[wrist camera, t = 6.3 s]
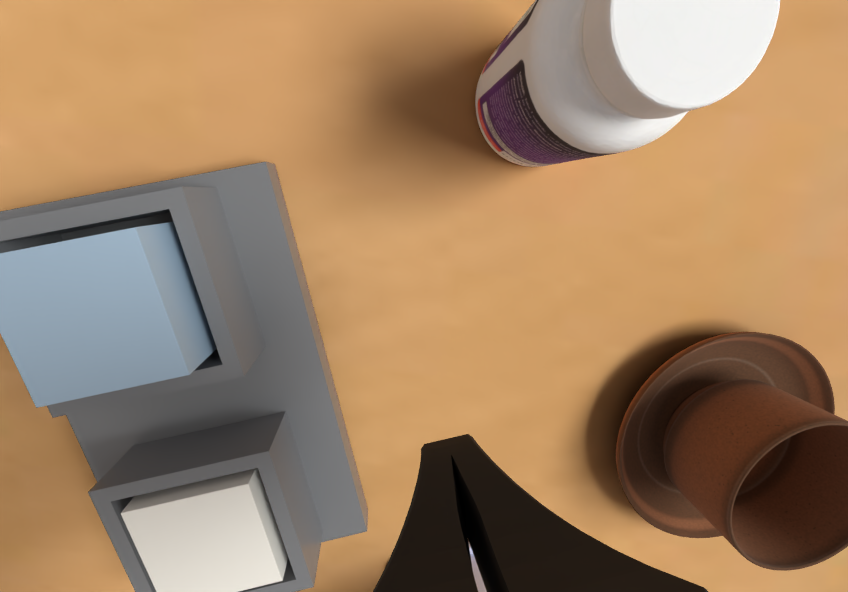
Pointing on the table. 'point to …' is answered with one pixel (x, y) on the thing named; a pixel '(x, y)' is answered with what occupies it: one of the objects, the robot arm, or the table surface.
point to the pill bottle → (613, 73)
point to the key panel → (218, 368)
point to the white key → (208, 535)
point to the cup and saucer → (740, 450)
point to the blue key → (102, 313)
